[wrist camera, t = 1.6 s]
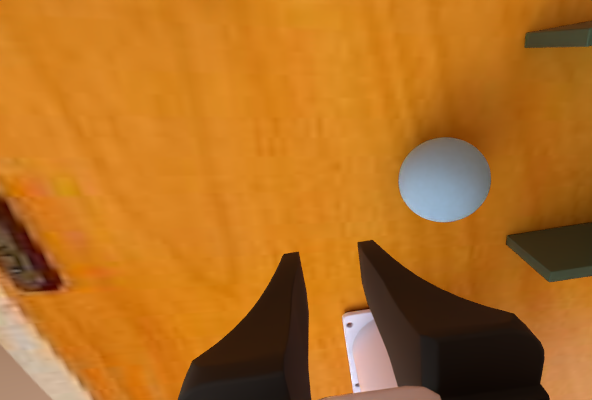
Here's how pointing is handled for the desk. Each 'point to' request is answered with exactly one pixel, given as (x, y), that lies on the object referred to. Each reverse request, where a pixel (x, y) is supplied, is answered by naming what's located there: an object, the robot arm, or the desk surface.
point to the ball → (444, 179)
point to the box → (570, 239)
